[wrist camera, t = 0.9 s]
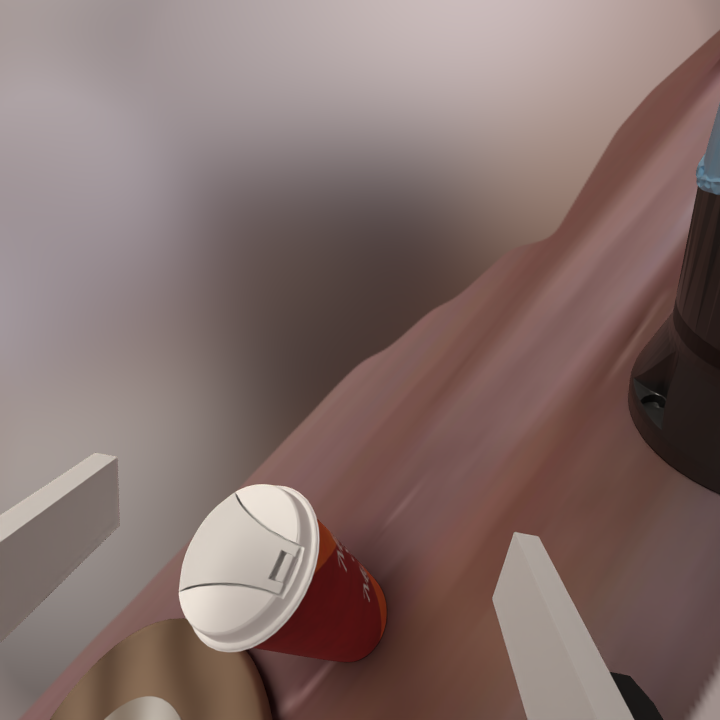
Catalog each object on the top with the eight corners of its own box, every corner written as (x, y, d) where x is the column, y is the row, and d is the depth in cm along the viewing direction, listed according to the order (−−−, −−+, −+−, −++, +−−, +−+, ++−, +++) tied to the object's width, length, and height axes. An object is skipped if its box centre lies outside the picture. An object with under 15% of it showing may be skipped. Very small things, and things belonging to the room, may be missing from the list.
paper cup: (414, 573, 27) (331, 489, 18) (381, 706, 23) (251, 681, 14) (328, 545, 31) (225, 465, 22) (286, 654, 27) (138, 608, 18)
